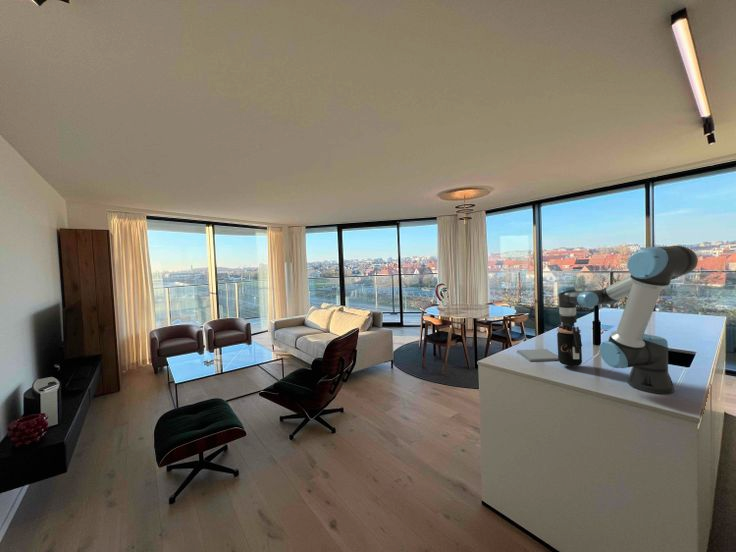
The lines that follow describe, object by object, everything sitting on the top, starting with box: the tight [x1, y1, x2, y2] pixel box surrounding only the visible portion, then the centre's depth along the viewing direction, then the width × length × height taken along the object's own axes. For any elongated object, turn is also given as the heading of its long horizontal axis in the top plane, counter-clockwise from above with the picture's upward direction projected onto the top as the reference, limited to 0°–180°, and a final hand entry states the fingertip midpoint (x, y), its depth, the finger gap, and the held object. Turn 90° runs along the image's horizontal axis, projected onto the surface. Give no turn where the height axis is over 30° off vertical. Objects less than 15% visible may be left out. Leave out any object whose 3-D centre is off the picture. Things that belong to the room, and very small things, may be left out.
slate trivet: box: [516, 348, 558, 363], centre depth 182 cm, size 18×18×1 cm
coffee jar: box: [556, 327, 583, 367], centre depth 161 cm, size 11×11×18 cm
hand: (569, 355), depth 162 cm, fingers closed on coffee jar, 11 cm apart
